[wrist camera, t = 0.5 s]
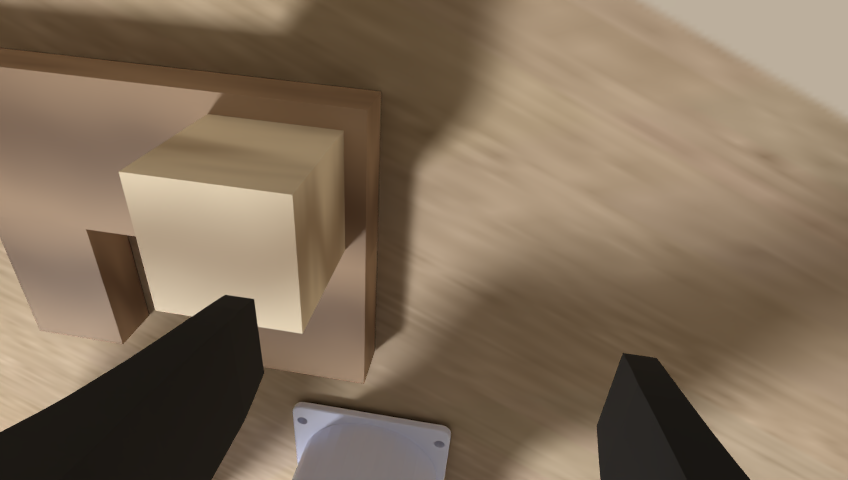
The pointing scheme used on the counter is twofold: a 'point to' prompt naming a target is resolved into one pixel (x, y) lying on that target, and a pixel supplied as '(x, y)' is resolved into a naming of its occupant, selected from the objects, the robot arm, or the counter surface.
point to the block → (240, 216)
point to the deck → (107, 208)
